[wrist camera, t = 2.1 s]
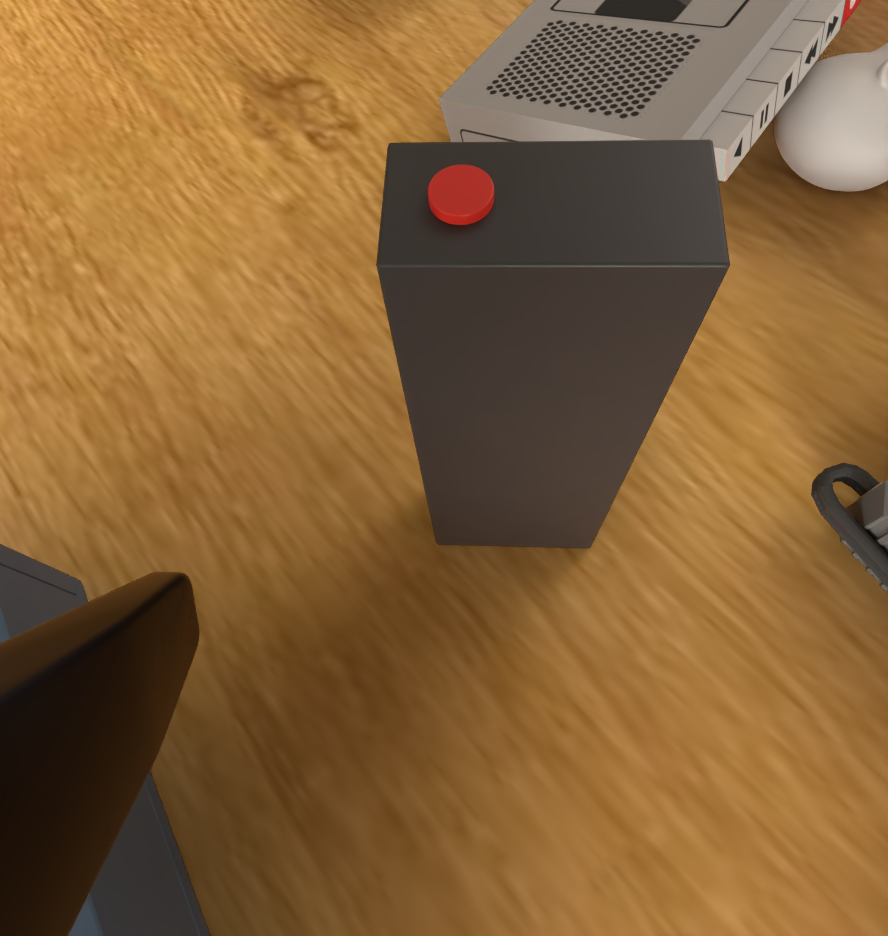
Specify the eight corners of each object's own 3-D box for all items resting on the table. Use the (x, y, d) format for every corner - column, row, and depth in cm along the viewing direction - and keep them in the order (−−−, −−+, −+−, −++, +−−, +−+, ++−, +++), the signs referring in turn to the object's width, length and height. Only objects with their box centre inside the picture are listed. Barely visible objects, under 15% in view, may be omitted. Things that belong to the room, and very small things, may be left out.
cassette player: (663, -133, 29) (932, -137, 24) (664, -60, 31) (910, -50, 26) (438, 98, 25) (709, 152, 20) (457, 165, 27) (705, 228, 22)
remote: (590, 549, 21) (736, 254, 9) (436, 545, 21) (372, 255, 9) (587, 474, 22) (716, 115, 10) (439, 471, 22) (386, 118, 10)
